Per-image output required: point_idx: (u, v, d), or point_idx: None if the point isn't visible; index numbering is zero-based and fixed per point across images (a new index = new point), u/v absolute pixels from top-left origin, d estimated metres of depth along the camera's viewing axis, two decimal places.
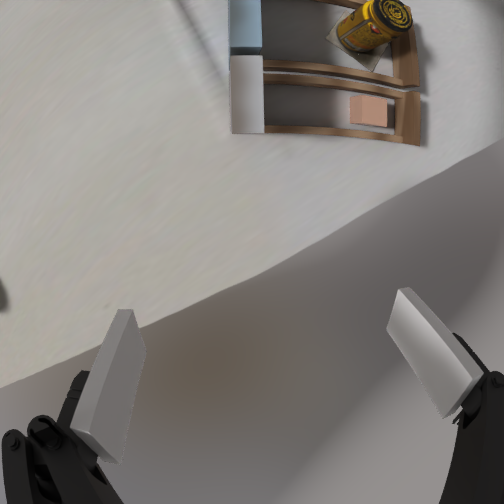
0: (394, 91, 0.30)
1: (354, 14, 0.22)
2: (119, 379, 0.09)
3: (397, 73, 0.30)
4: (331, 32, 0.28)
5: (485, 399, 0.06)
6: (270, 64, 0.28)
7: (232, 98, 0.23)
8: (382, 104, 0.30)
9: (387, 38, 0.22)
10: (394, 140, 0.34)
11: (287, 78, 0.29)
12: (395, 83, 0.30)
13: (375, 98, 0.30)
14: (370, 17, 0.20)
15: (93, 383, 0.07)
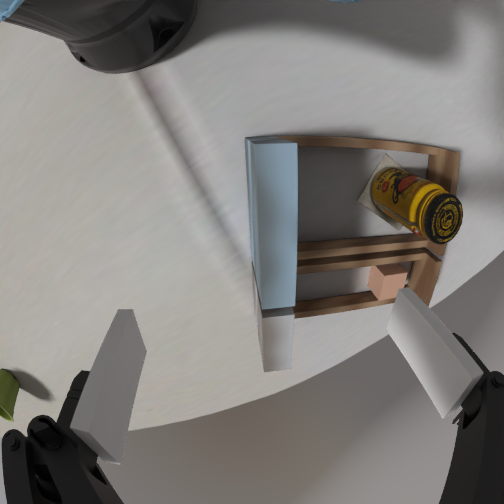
0: (417, 255, 0.34)
1: (398, 197, 0.26)
2: (119, 379, 0.09)
3: None
4: (364, 191, 0.32)
5: (485, 399, 0.06)
6: None
7: (264, 351, 0.27)
8: (401, 278, 0.34)
9: None
10: None
11: (313, 269, 0.33)
12: (420, 246, 0.33)
13: (396, 275, 0.33)
14: (416, 223, 0.24)
15: (93, 383, 0.07)
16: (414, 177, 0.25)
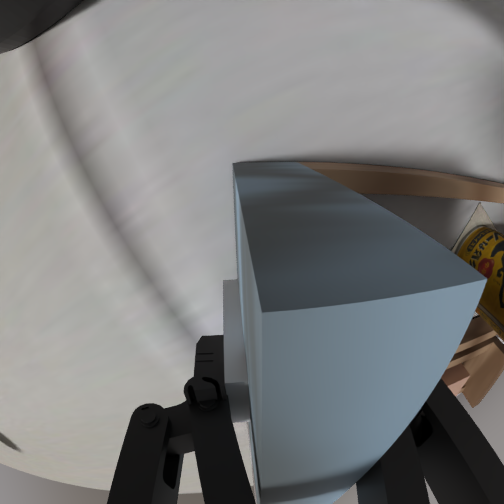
0: (484, 348, 0.18)
1: None
2: None
3: None
4: None
5: None
6: None
7: None
8: (461, 383, 0.18)
9: None
10: None
11: None
12: (491, 336, 0.18)
13: (457, 382, 0.18)
14: None
15: (232, 340, 0.10)
16: None
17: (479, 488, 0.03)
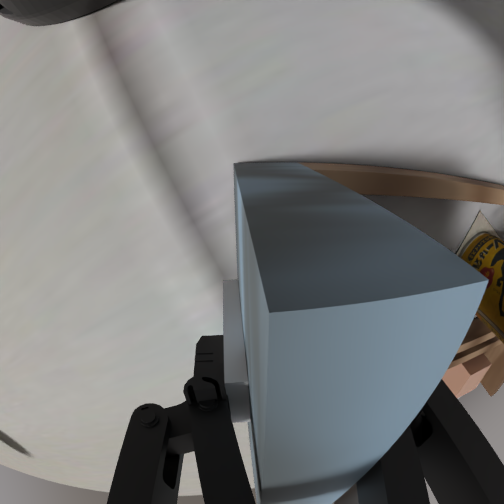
0: None
1: None
2: None
3: None
4: None
5: None
6: None
7: None
8: (483, 372, 0.18)
9: None
10: None
11: None
12: (489, 337, 0.18)
13: (481, 370, 0.18)
14: None
15: (232, 340, 0.10)
16: None
17: (479, 488, 0.03)
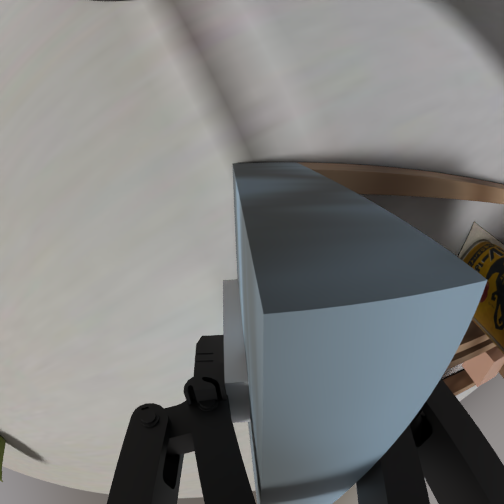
0: None
1: None
2: None
3: None
4: None
5: None
6: None
7: None
8: None
9: None
10: None
11: None
12: None
13: (502, 357, 0.18)
14: None
15: (232, 340, 0.10)
16: None
17: (479, 488, 0.03)
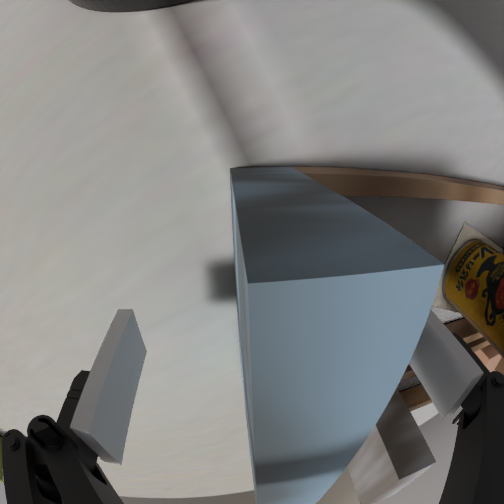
0: None
1: (495, 319, 0.12)
2: (119, 379, 0.09)
3: None
4: None
5: (485, 399, 0.06)
6: None
7: (376, 497, 0.12)
8: (499, 357, 0.19)
9: None
10: None
11: None
12: None
13: (498, 355, 0.19)
14: None
15: (93, 383, 0.07)
16: None
17: None
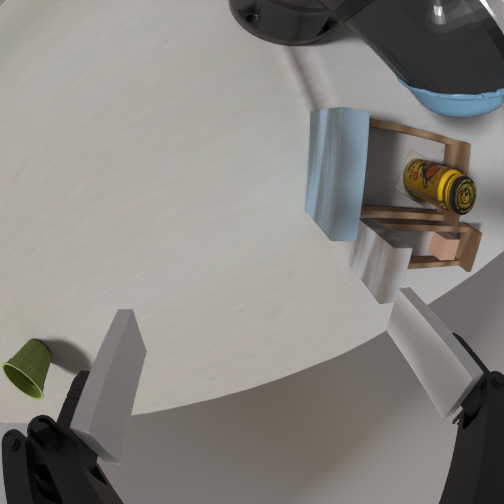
0: (464, 228, 0.39)
1: (427, 183, 0.31)
2: (119, 379, 0.09)
3: None
4: (399, 180, 0.37)
5: (485, 399, 0.06)
6: None
7: (386, 281, 0.32)
8: (455, 244, 0.39)
9: None
10: (454, 264, 0.43)
11: (402, 228, 0.38)
12: (438, 219, 0.38)
13: (453, 240, 0.39)
14: (444, 200, 0.29)
15: (93, 383, 0.07)
16: (436, 166, 0.31)
17: None
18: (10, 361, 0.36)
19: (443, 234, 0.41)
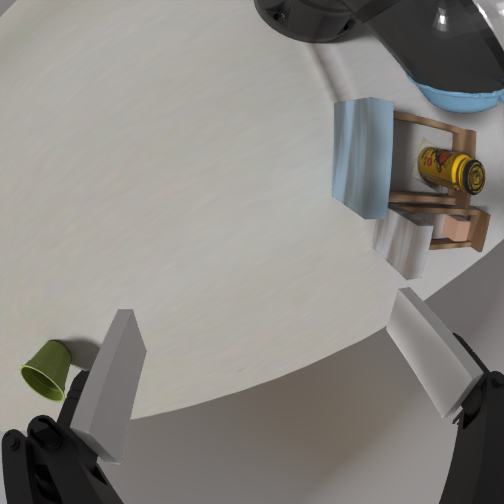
0: (474, 211, 0.40)
1: (441, 167, 0.33)
2: (119, 379, 0.09)
3: (452, 190, 0.40)
4: (414, 167, 0.39)
5: (485, 399, 0.06)
6: None
7: (412, 257, 0.33)
8: (467, 225, 0.40)
9: None
10: (466, 246, 0.44)
11: (419, 210, 0.39)
12: (450, 202, 0.39)
13: (465, 222, 0.40)
14: (457, 182, 0.30)
15: (93, 383, 0.07)
16: (448, 152, 0.32)
17: None
18: (29, 363, 0.38)
19: (455, 217, 0.42)
